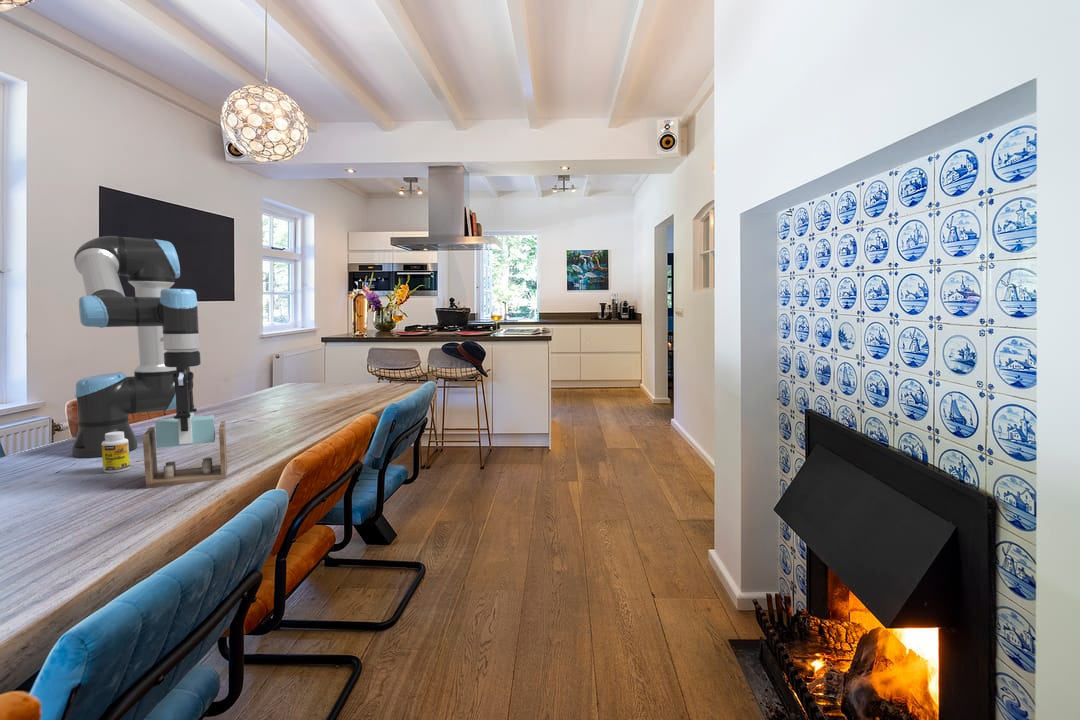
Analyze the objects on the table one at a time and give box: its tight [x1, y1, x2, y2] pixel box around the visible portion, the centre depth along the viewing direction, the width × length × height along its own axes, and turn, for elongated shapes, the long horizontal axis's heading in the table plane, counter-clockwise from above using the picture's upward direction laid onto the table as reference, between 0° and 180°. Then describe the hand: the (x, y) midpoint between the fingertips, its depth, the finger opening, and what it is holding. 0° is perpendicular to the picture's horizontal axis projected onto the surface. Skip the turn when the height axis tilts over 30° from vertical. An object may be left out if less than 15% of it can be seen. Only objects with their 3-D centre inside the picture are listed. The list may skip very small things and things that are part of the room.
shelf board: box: [154, 414, 216, 449], centre depth 131 cm, size 6×12×6 cm, turn 121°
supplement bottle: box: [101, 431, 131, 474], centre depth 138 cm, size 6×6×10 cm
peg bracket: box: [142, 420, 228, 489], centre depth 132 cm, size 10×16×13 cm, turn 119°
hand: (187, 440), depth 132 cm, fingers closed on shelf board, 6 cm apart
